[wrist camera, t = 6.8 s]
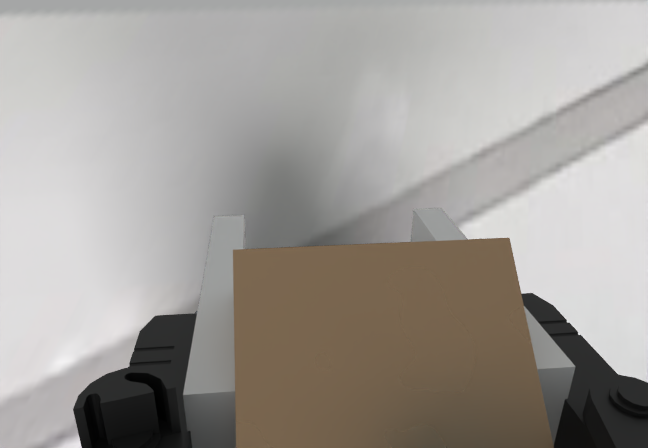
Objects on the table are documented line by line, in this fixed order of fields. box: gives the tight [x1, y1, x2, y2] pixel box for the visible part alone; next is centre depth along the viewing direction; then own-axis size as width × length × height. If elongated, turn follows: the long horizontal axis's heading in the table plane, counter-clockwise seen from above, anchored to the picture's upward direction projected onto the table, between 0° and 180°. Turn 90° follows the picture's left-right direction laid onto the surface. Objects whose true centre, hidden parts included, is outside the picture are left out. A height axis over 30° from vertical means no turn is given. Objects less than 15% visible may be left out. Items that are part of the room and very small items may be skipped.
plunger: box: [233, 238, 554, 448], centre depth 15 cm, size 7×7×16 cm
